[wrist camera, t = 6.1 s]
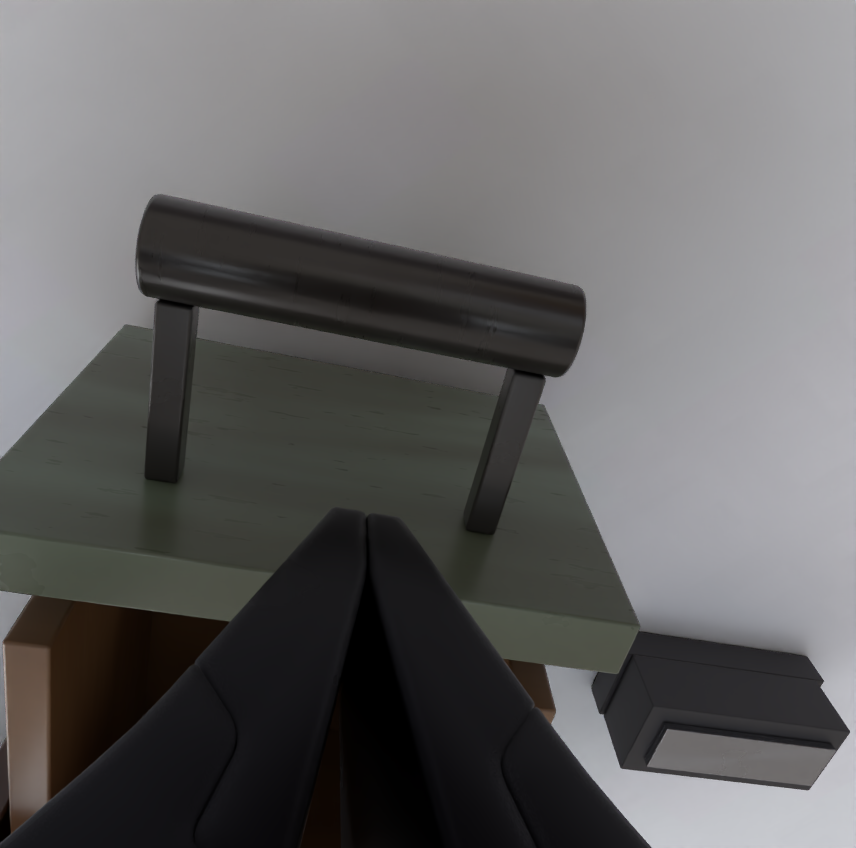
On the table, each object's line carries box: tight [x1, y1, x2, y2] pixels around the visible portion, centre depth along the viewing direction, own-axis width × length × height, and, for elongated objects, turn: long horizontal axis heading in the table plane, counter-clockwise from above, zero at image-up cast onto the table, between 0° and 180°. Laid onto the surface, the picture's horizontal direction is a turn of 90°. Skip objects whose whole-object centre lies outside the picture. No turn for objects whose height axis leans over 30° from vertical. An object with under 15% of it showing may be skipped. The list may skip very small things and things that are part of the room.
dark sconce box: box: [591, 632, 850, 790], centre depth 25 cm, size 8×3×4 cm, turn 77°
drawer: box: [0, 194, 640, 848], centre depth 18 cm, size 18×11×9 cm, turn 167°
